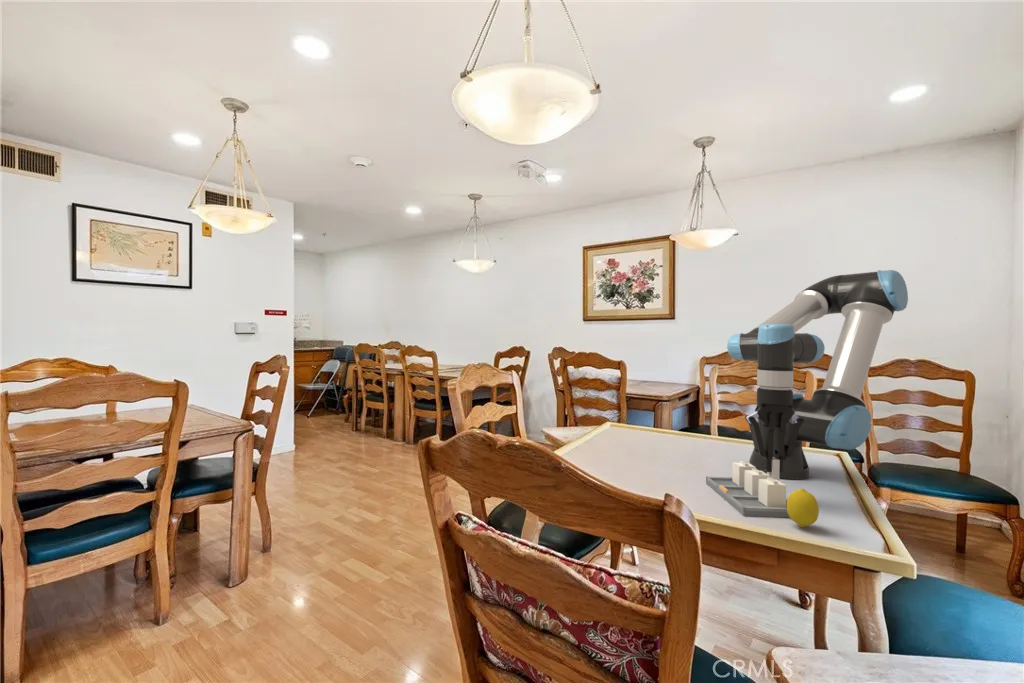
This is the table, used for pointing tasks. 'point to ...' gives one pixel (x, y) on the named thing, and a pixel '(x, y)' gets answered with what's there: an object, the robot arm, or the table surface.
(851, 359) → the robot arm
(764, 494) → the tab
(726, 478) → the frame
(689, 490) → the table surface
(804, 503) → the lemon
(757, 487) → the cream ridged block
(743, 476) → the tab
